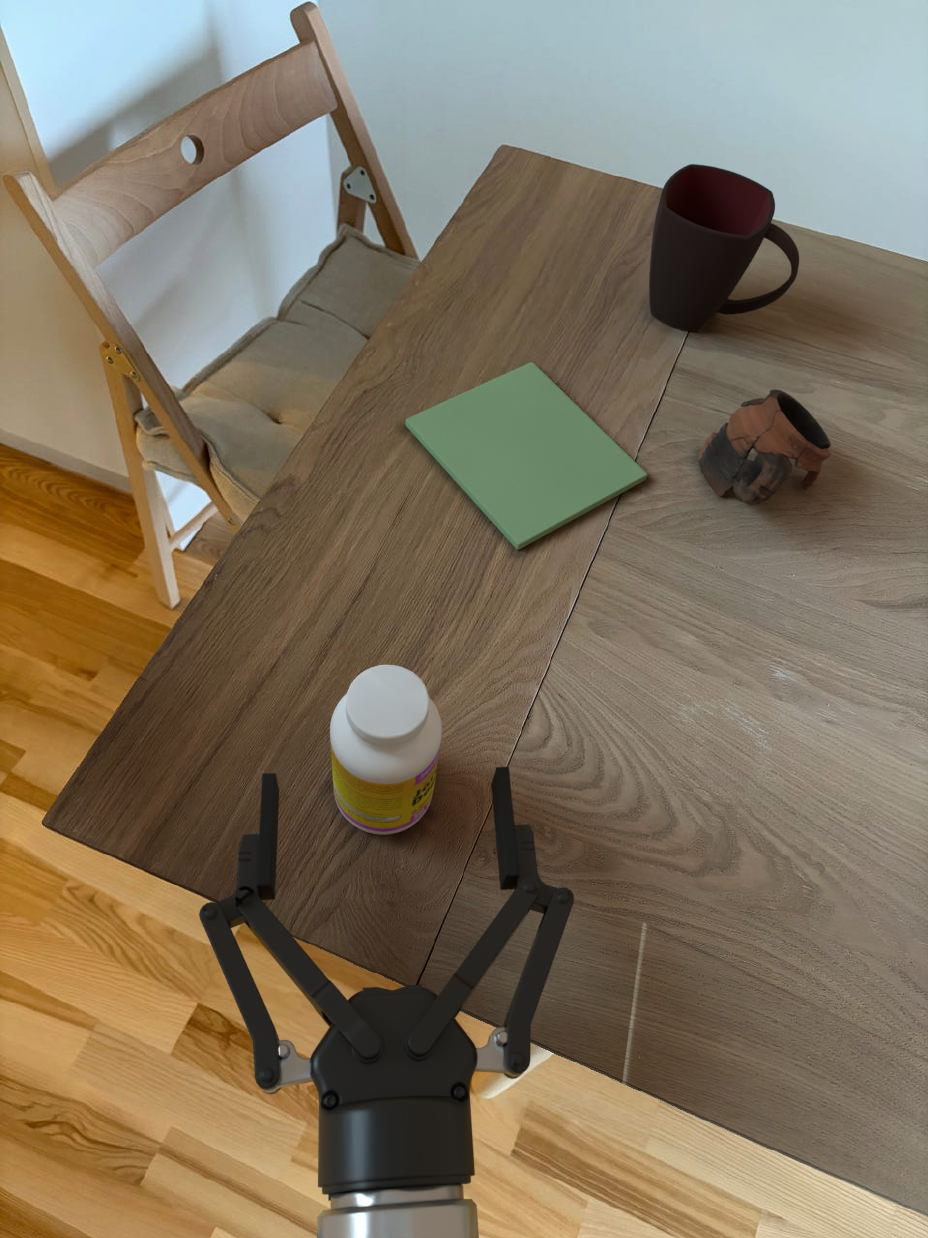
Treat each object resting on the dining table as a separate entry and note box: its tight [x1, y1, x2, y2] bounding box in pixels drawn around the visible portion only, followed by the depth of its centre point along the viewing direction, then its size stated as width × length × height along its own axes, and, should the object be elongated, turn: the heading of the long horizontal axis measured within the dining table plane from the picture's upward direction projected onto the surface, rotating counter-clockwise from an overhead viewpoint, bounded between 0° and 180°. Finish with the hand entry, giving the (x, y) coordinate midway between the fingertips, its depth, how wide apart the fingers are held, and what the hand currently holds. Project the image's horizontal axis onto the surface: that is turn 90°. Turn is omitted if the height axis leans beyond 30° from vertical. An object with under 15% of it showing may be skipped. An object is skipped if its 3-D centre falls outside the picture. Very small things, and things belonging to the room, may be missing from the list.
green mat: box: [404, 361, 648, 551], centre depth 81 cm, size 16×14×1 cm
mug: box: [648, 163, 800, 333], centre depth 88 cm, size 10×14×12 cm
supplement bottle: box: [329, 664, 443, 835], centre depth 58 cm, size 7×7×13 cm
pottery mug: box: [697, 388, 832, 506], centre depth 79 cm, size 12×10×8 cm
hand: (386, 778), depth 56 cm, fingers open, 13 cm apart
